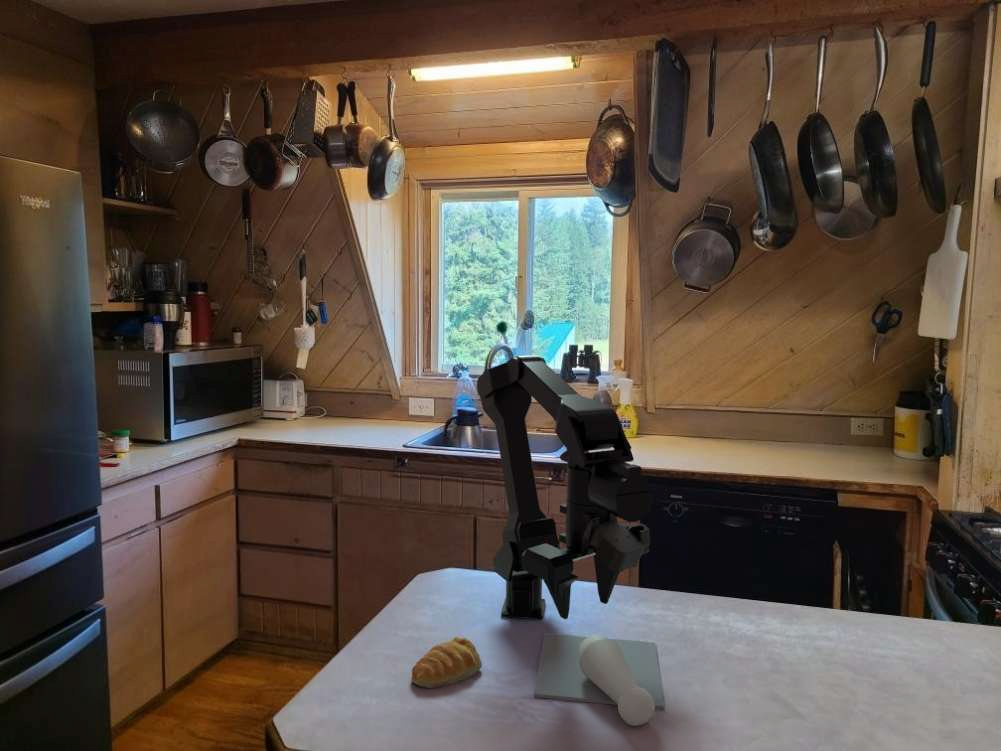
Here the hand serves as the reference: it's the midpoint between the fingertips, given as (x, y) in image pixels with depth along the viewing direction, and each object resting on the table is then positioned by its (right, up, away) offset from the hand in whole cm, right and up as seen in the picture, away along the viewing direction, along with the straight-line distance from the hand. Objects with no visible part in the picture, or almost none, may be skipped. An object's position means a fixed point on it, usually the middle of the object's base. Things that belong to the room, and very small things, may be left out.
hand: (584, 610), depth 98 cm
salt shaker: (+1, -4, -3) cm, 5 cm away
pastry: (-18, -8, -3) cm, 20 cm away
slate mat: (+2, -8, -1) cm, 8 cm away
